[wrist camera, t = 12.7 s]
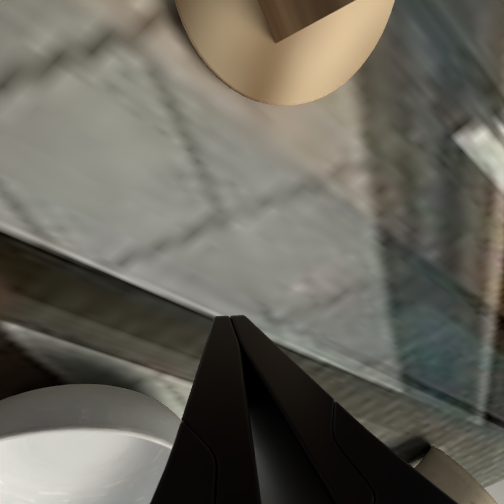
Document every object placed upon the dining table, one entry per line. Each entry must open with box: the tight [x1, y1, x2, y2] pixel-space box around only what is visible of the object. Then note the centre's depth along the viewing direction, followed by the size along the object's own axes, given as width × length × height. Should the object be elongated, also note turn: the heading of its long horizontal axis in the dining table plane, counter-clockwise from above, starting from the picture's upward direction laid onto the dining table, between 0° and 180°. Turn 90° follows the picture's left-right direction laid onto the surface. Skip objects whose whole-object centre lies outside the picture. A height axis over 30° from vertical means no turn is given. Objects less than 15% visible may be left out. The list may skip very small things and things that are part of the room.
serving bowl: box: [0, 384, 181, 504], centre depth 24 cm, size 21×21×7 cm
